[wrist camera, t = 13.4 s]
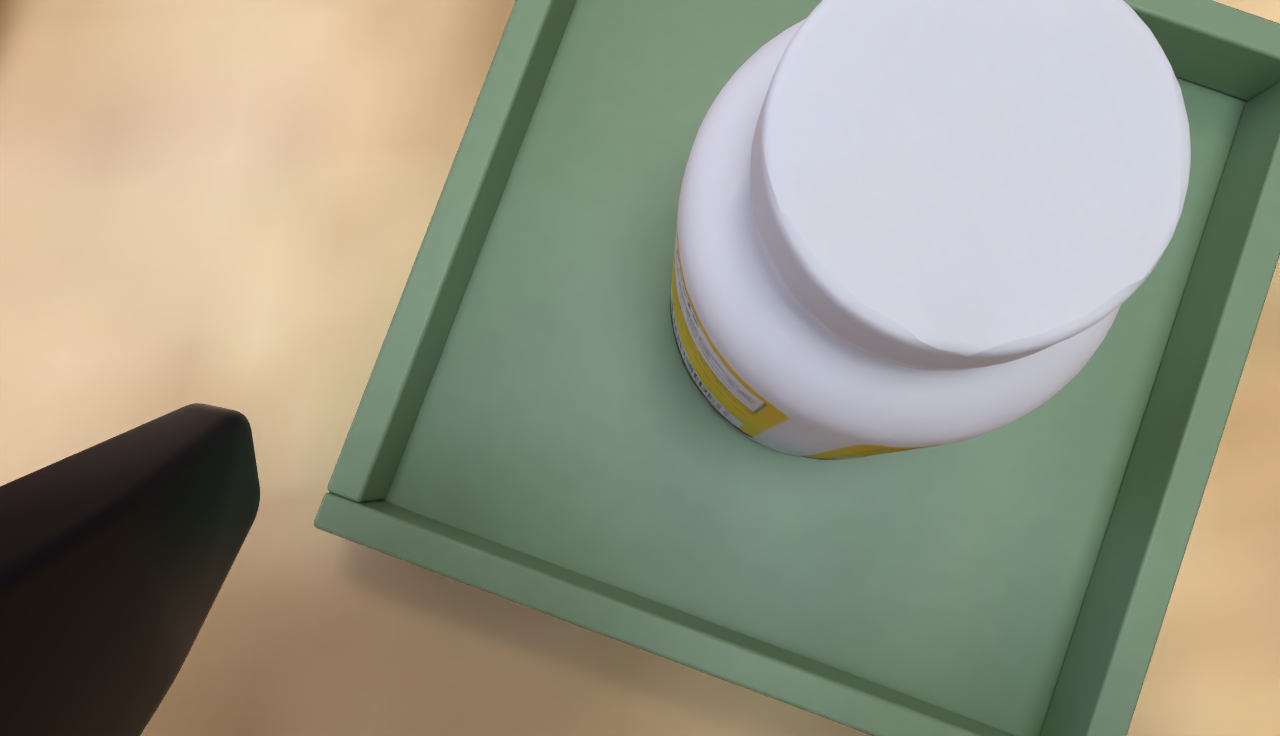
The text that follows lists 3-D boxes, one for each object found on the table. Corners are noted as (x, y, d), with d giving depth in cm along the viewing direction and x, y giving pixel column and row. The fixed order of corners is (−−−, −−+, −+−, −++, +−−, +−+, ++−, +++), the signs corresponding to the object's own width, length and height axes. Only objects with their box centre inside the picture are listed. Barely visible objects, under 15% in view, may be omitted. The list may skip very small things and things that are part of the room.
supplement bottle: (1017, 227, 20) (1362, -4, 10) (905, 508, 20) (1154, 539, 10) (737, 112, 20) (818, -219, 11) (620, 387, 20) (592, 304, 10)
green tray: (1046, 779, 20) (1100, 821, 18) (350, 520, 20) (311, 526, 18) (1268, 93, 21) (1348, 45, 19) (602, -136, 22) (596, -212, 19)
